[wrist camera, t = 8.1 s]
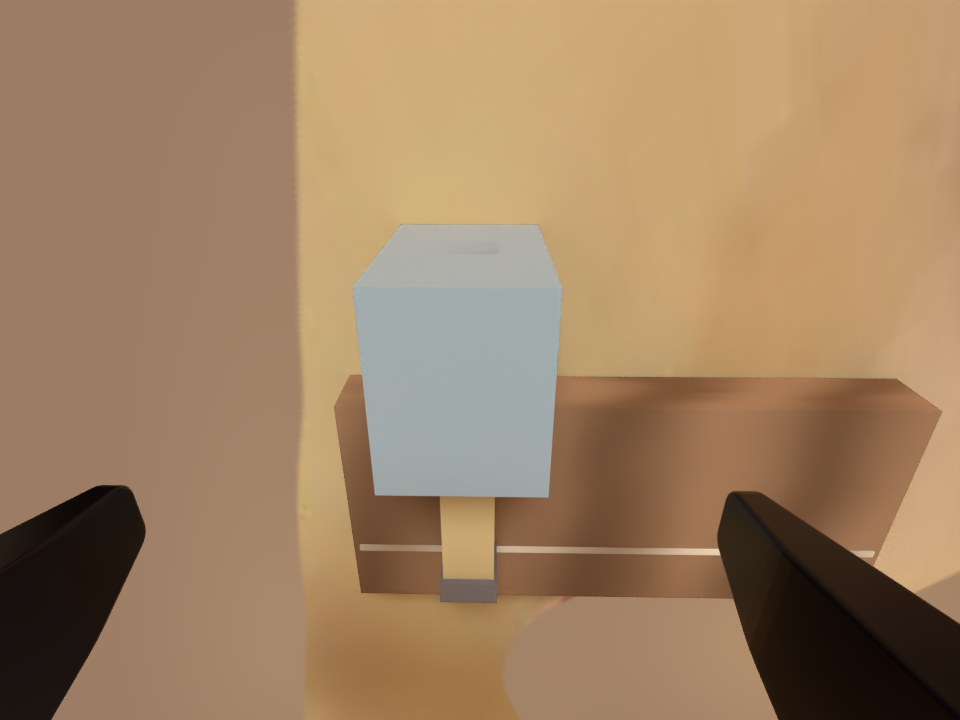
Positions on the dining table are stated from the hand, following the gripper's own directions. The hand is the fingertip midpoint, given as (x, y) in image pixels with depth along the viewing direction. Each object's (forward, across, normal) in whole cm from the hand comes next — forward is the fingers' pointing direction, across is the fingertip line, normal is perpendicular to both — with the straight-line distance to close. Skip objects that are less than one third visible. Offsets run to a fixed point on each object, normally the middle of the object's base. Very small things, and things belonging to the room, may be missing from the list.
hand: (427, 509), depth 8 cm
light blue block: (+9, 0, +3) cm, 10 cm away
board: (+10, -5, +7) cm, 13 cm away
